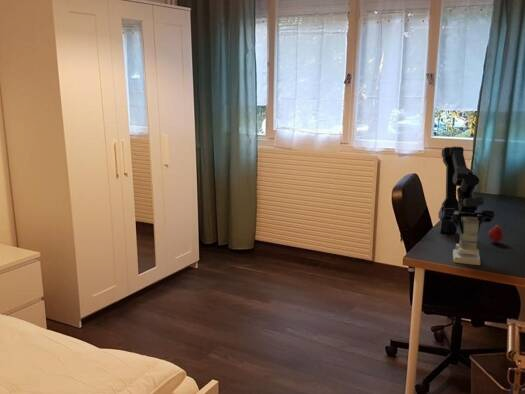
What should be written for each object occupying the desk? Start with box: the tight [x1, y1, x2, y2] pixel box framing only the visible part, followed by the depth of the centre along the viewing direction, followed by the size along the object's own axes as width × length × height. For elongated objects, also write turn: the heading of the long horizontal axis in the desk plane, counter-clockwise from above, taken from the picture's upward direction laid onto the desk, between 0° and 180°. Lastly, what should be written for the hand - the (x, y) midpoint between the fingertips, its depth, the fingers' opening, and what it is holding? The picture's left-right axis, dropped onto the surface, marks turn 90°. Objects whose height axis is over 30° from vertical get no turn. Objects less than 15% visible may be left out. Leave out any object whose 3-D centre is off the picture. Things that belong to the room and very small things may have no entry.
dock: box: [452, 248, 481, 266], centre depth 191 cm, size 9×10×2 cm
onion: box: [488, 224, 505, 244], centre depth 209 cm, size 6×6×8 cm
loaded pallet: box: [455, 217, 480, 255], centre depth 189 cm, size 7×7×13 cm
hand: (469, 234), depth 188 cm, fingers closed on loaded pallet, 5 cm apart
